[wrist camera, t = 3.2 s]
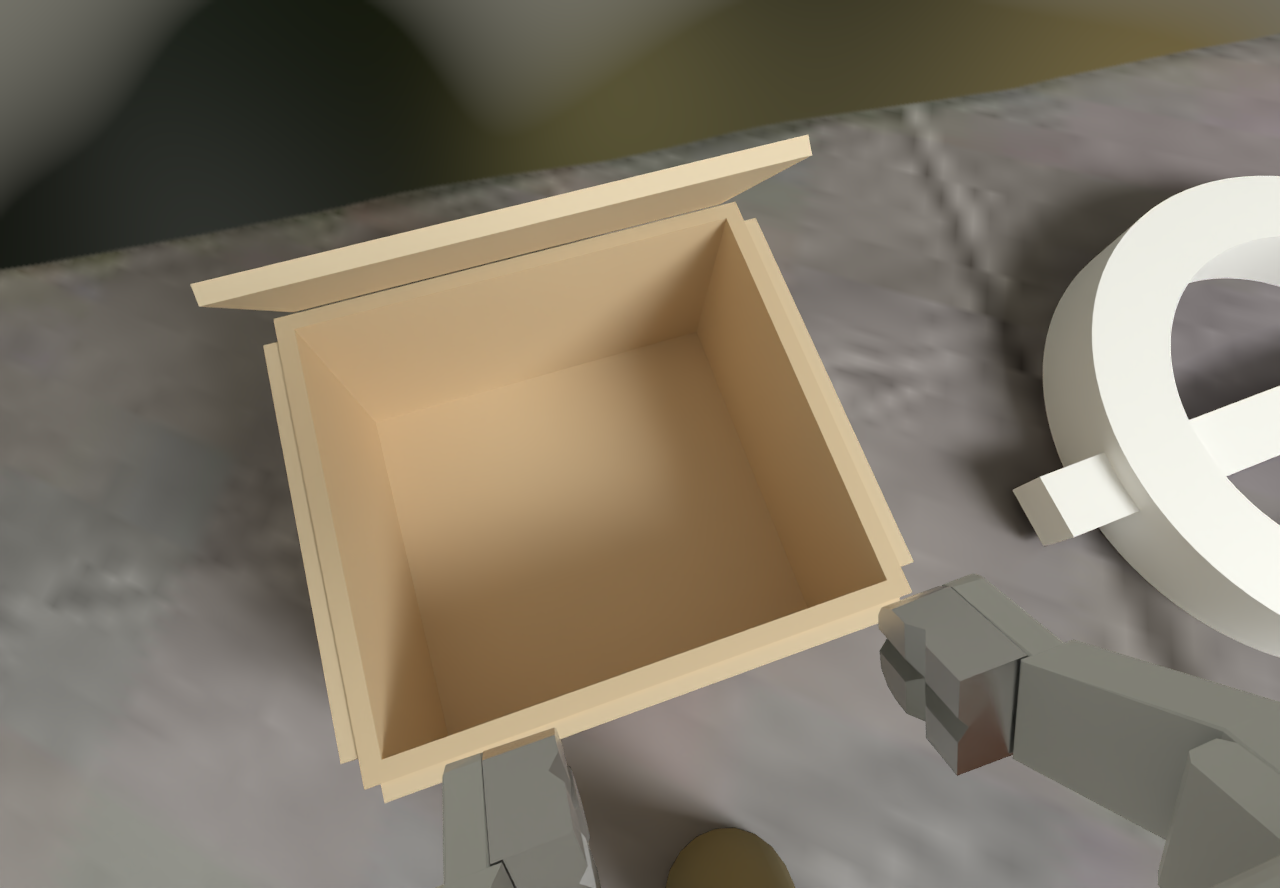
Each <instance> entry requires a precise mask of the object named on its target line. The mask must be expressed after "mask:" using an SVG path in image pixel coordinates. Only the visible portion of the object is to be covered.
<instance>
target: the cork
mask: <svg viewBox="0 0 1280 888" xmlns="http://www.w3.org/2000/svg"><path fill="white" fill-rule="evenodd" d="M666 888H795V886H794V884H793V881H792V879H791V877H790V874H789V872H788V870H787V868H786V865H785V864H784V863H783V861H782V860H781V858H780V857H779V856H778V854H777V853H776V852H775V850H774V849H773V848H772V847H771V846H770V845H769V844H767V843H766V842H765V841H763V840H762V839H761V838H759V837H758V836H757V835H755V834H753V833H750V832H746V831H743V830H740V829H737V828H724V829H714V830H712V831H709V832H707V833H704V834H702V835H700V836H697V837H696V838H695V839H694V840H693V841H691V842H690V843H689V844H688V845H687V846H686V847H685V848H684V849H683V850H682V851H681V852H680V853H679V855H678V857H677V859H676V860H675V862H674V864H673V866H672V867H671V869H670V871H669V875H668V879H667V884H666Z"/></svg>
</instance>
